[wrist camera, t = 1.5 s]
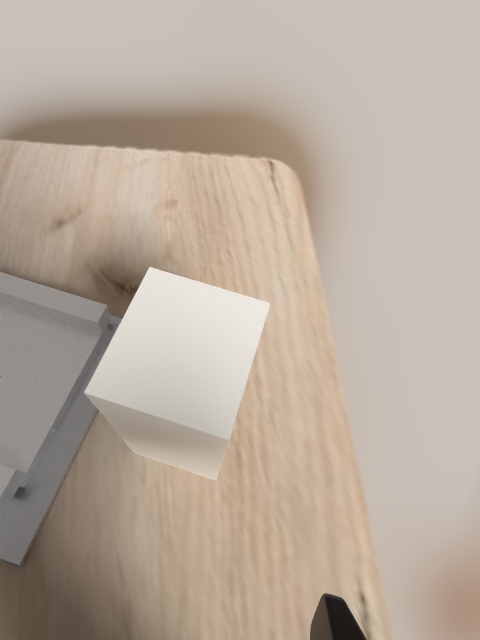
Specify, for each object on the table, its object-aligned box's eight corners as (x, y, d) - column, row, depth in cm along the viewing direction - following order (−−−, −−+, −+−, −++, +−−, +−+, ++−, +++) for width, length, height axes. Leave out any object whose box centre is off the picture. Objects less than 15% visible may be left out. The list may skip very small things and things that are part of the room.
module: (216, 480, 20) (228, 439, 12) (133, 453, 21) (84, 392, 12) (243, 392, 23) (270, 303, 14) (168, 368, 23) (149, 266, 14)
